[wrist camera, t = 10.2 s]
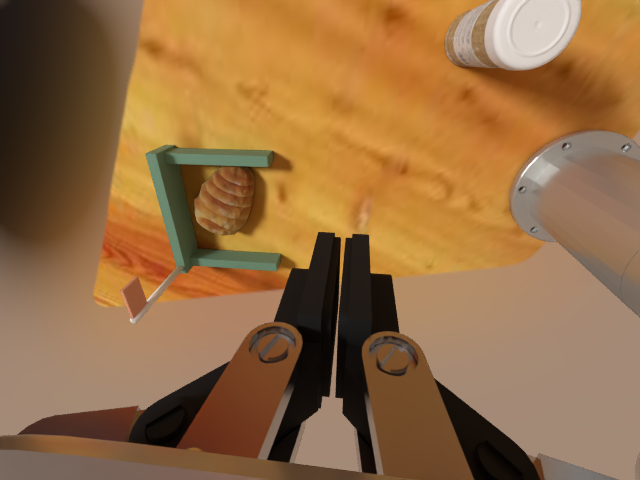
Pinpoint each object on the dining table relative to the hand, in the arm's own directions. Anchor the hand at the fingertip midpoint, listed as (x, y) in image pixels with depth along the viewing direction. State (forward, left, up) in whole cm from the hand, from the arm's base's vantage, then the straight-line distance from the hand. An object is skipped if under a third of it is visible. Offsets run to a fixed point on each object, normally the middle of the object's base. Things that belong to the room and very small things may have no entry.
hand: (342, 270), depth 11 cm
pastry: (+16, +9, -28) cm, 33 cm away
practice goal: (+16, +11, -27) cm, 33 cm away
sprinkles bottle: (-10, -8, -27) cm, 30 cm away
